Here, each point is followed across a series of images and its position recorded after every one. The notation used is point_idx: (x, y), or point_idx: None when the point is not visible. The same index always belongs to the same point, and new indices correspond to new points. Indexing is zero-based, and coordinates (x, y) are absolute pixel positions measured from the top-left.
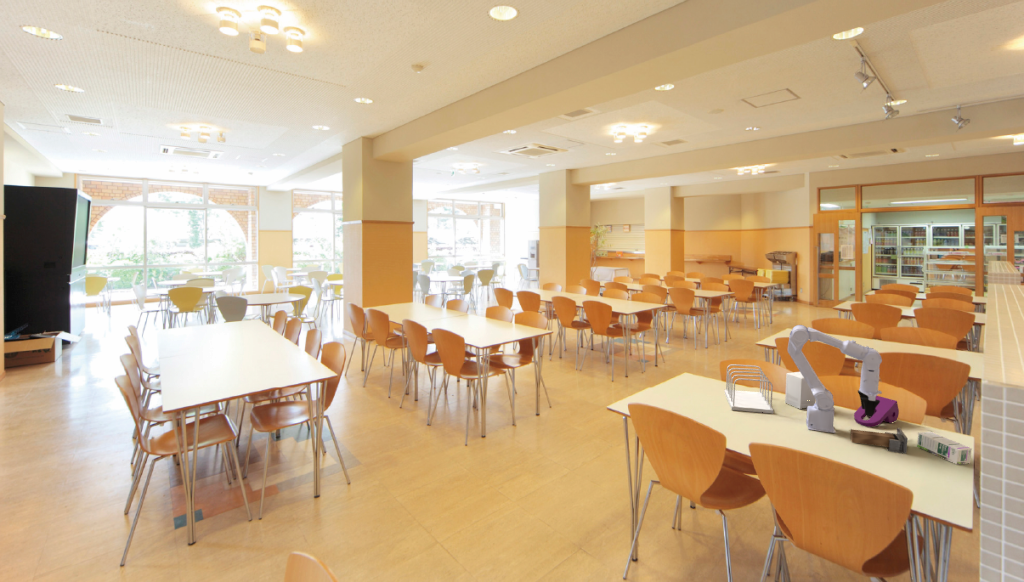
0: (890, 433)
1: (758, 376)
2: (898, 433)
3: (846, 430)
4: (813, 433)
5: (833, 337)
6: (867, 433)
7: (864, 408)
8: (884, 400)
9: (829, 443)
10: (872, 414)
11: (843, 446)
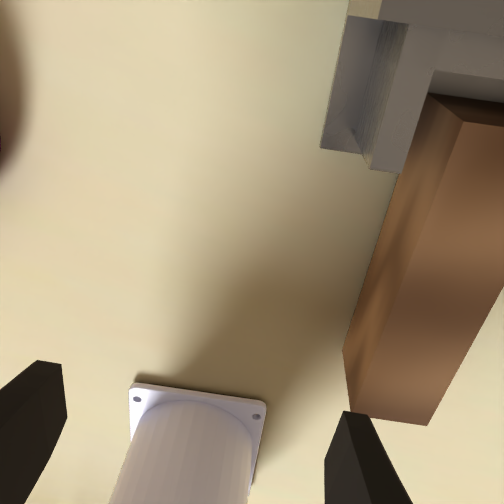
0: (411, 120)
1: None
2: (448, 29)
3: (176, 324)
4: (298, 484)
5: None
6: (445, 343)
7: (61, 410)
8: None
9: (438, 461)
10: (378, 444)
11: (479, 417)
